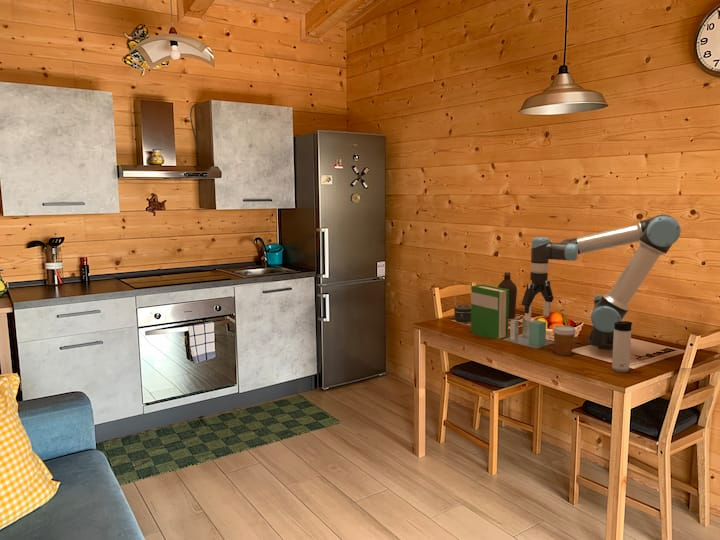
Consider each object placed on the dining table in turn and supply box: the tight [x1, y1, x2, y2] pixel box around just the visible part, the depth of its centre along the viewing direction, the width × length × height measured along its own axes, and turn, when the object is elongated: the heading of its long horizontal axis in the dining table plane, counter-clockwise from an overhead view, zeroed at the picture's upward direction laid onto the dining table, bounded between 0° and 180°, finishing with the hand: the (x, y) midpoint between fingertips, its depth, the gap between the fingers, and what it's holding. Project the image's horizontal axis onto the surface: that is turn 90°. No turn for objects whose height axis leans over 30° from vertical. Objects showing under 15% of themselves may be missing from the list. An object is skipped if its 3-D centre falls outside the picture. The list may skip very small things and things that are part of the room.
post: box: [507, 319, 521, 343], centre depth 264 cm, size 4×4×10 cm
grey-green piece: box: [529, 319, 547, 347], centre depth 257 cm, size 5×5×11 cm
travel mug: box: [611, 320, 633, 373], centre depth 222 cm, size 6×7×20 cm
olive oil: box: [497, 271, 518, 320], centre depth 311 cm, size 11×11×25 cm
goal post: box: [519, 316, 532, 339], centre depth 269 cm, size 4×4×10 cm
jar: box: [453, 304, 471, 323], centre depth 307 cm, size 10×10×8 cm
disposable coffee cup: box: [552, 324, 577, 356], centre depth 243 cm, size 10×10×12 cm
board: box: [501, 333, 555, 349], centre depth 263 cm, size 19×15×1 cm
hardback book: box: [470, 284, 509, 340], centre depth 274 cm, size 18×7×24 cm, turn 33°
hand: (537, 317), depth 256 cm, fingers open, 13 cm apart
